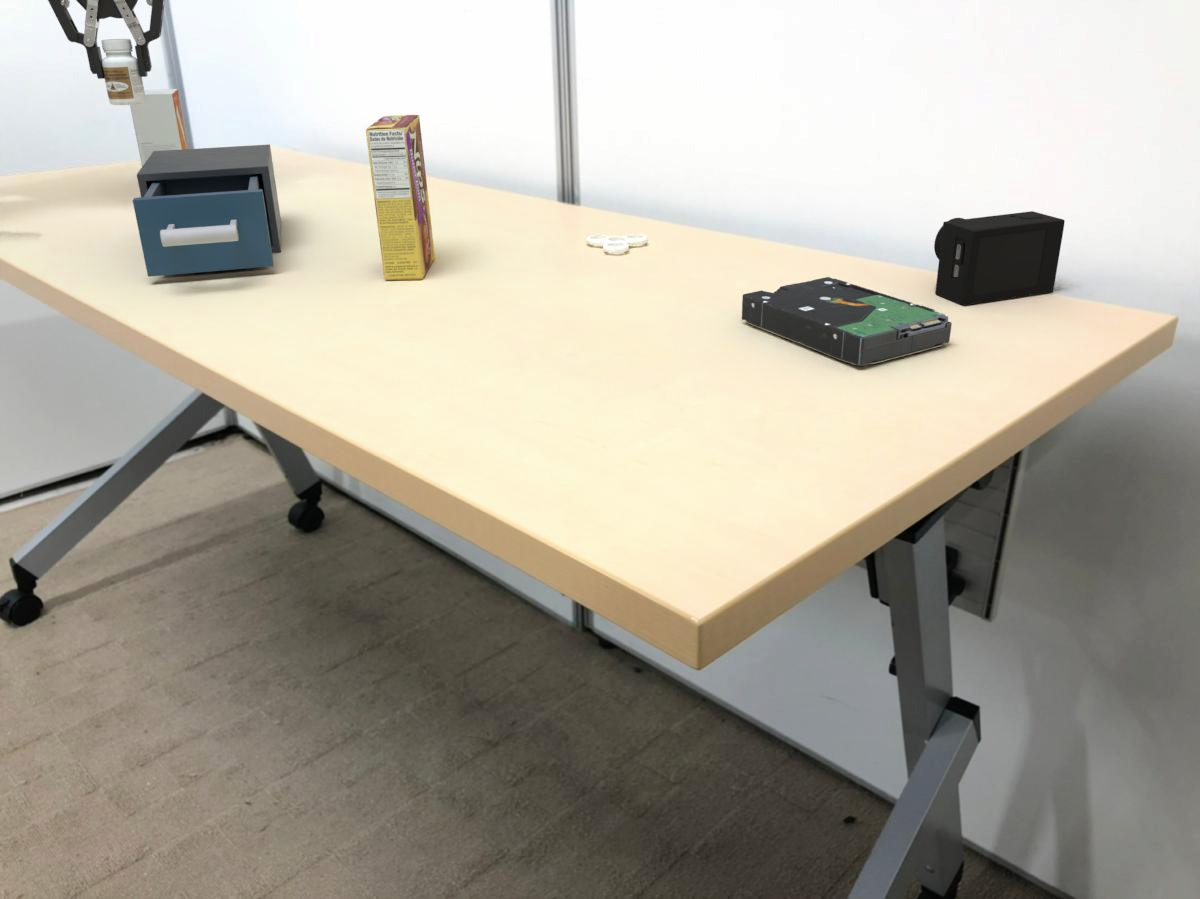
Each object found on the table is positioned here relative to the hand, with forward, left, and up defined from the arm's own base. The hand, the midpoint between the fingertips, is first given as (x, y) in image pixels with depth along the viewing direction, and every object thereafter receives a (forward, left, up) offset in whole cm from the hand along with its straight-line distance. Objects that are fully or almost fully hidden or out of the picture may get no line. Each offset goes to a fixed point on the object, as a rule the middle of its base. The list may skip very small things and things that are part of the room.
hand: (122, 76), depth 136 cm
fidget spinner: (+54, -40, -17) cm, 70 cm away
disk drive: (+63, -76, -17) cm, 101 cm away
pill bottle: (0, 0, -4) cm, 4 cm away
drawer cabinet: (+10, -21, -17) cm, 29 cm away
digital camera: (+82, -69, -17) cm, 109 cm away
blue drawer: (+10, -35, -16) cm, 40 cm away
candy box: (+30, -42, -17) cm, 55 cm away
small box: (0, +25, -17) cm, 30 cm away
